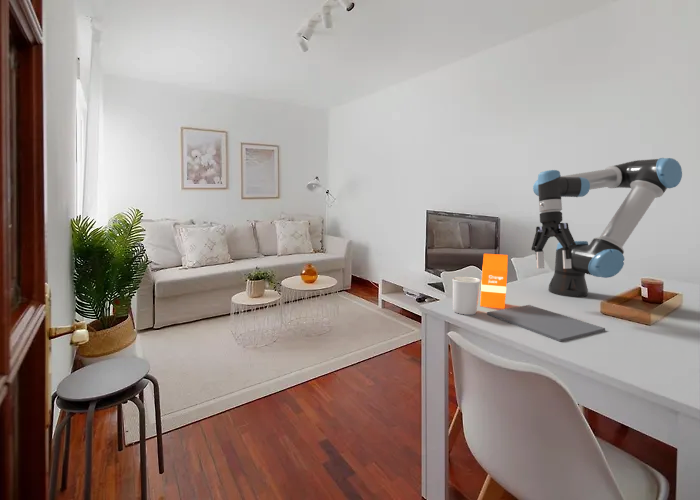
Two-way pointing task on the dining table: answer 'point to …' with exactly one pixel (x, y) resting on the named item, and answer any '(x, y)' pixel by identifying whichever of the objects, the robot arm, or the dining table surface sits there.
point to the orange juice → (494, 281)
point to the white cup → (465, 295)
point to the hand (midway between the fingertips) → (553, 268)
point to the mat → (546, 322)
